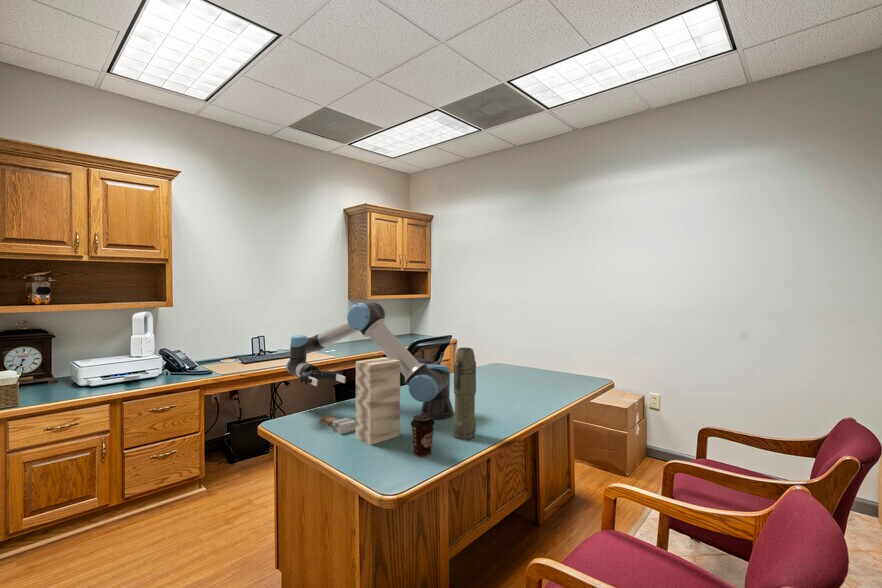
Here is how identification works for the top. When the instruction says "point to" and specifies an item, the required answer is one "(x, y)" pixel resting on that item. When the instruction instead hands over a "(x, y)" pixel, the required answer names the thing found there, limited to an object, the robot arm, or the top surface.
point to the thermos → (464, 394)
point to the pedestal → (377, 400)
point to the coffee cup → (422, 434)
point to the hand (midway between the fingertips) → (331, 381)
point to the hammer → (339, 424)
